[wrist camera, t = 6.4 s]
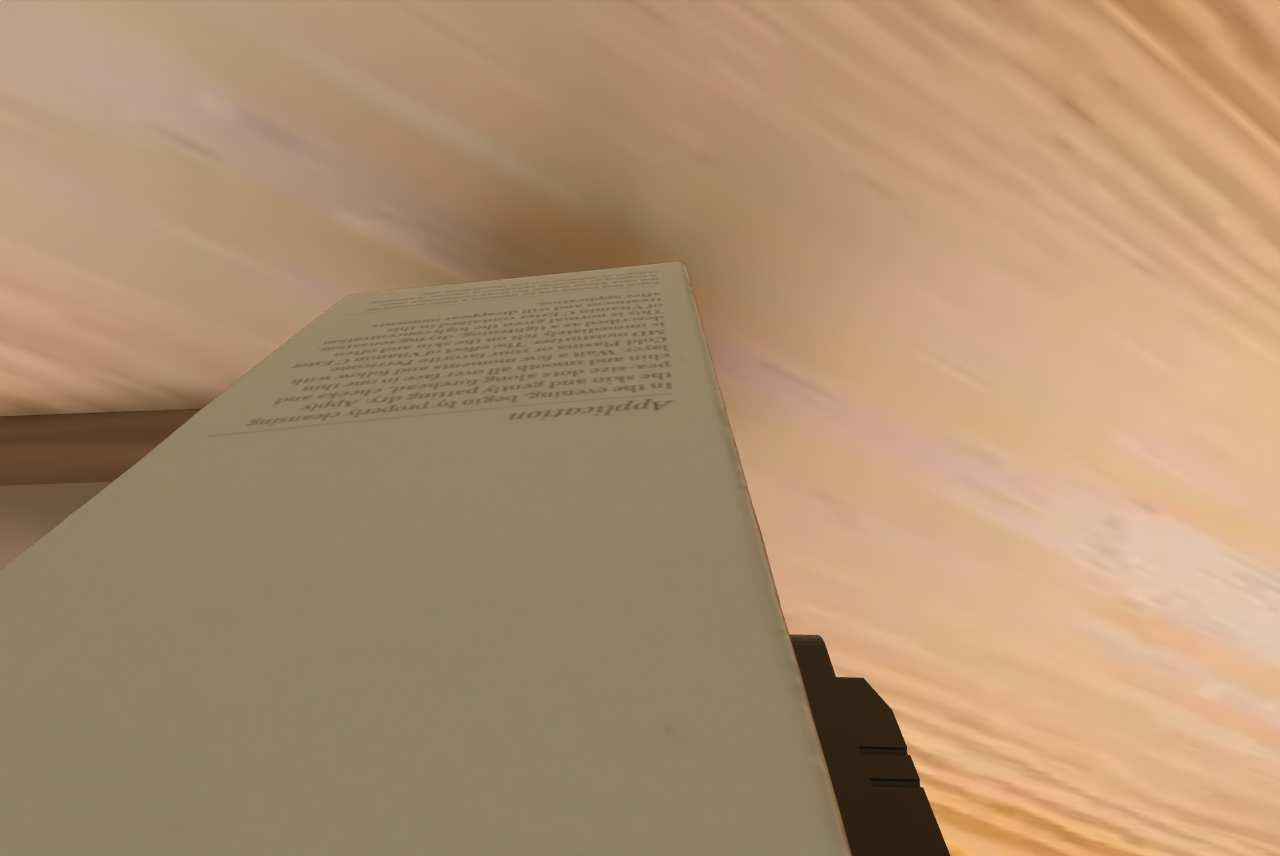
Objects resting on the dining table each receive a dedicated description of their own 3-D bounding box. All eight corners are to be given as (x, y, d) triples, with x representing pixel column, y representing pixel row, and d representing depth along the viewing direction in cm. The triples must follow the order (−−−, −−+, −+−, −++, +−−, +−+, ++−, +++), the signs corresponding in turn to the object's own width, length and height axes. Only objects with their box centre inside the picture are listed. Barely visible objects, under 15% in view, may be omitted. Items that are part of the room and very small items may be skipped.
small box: (718, 609, 17) (914, 1878, 5) (437, 632, 17) (6, 1896, 5) (693, 246, 13) (1154, 1687, 2) (339, 282, 13) (-1636, 1772, 2)
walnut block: (-8, 411, 24) (-161, 491, 19) (368, 398, 24) (302, 475, 19) (144, 752, 30) (56, 872, 26) (441, 745, 30) (405, 864, 25)
